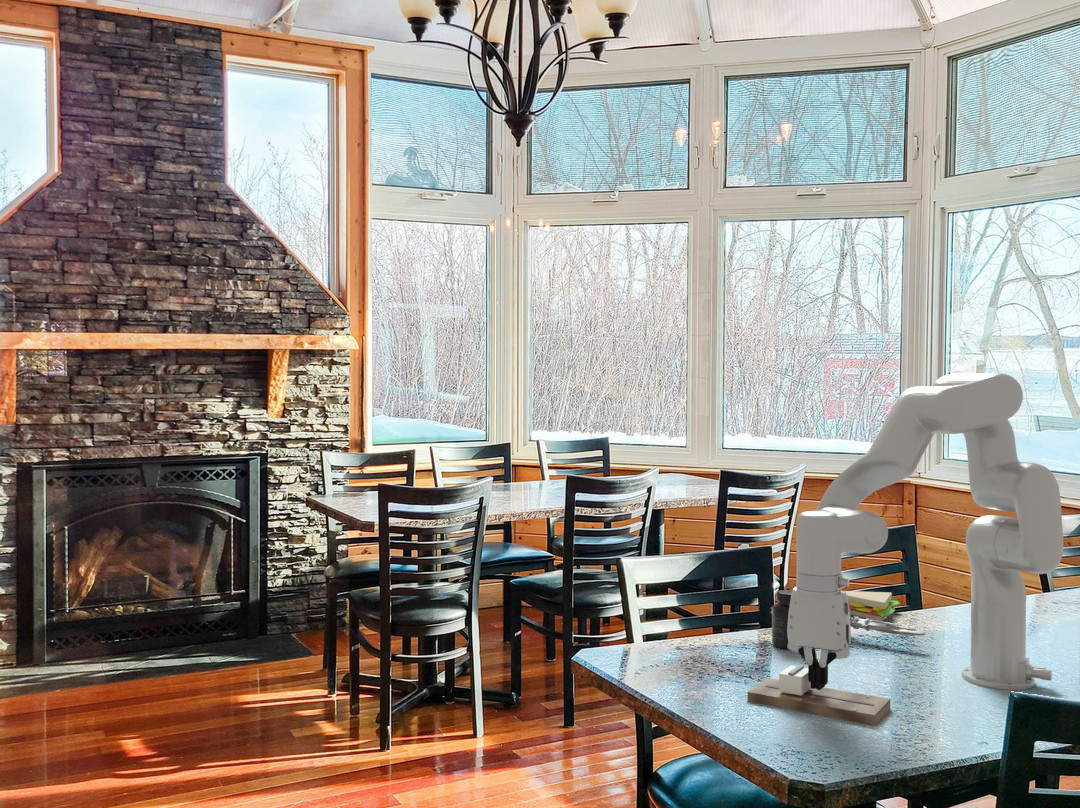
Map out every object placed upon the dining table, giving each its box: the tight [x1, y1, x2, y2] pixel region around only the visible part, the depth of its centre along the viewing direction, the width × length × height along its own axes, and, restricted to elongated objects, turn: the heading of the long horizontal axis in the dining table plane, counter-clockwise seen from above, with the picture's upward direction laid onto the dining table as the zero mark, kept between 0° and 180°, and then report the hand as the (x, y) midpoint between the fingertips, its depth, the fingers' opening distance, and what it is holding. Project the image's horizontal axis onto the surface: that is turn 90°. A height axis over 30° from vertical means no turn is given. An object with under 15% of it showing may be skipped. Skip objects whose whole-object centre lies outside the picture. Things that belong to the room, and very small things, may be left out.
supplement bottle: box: [771, 589, 793, 651], centre depth 208 cm, size 7×7×12 cm
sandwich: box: [844, 590, 900, 622], centre depth 241 cm, size 15×20×5 cm
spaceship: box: [769, 605, 926, 637], centre depth 215 cm, size 8×35×8 cm, turn 51°
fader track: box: [747, 677, 891, 726], centre depth 169 cm, size 22×10×2 cm, turn 56°
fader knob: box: [778, 664, 811, 696], centre depth 171 cm, size 4×6×4 cm, turn 146°
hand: (818, 687), depth 169 cm, fingers closed
